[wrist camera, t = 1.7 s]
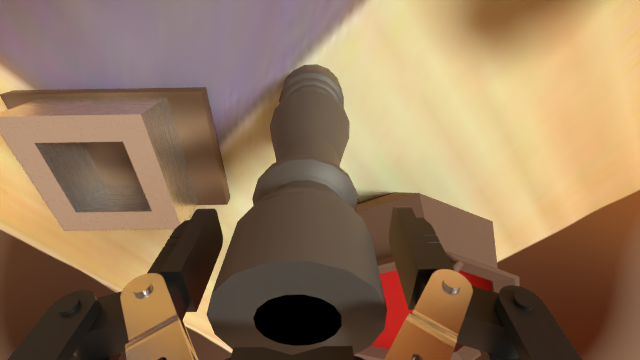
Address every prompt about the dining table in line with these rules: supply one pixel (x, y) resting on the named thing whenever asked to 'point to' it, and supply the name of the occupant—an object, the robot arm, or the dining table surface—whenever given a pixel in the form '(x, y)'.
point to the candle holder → (302, 238)
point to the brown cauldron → (459, 245)
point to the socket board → (191, 127)
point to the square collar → (80, 171)
